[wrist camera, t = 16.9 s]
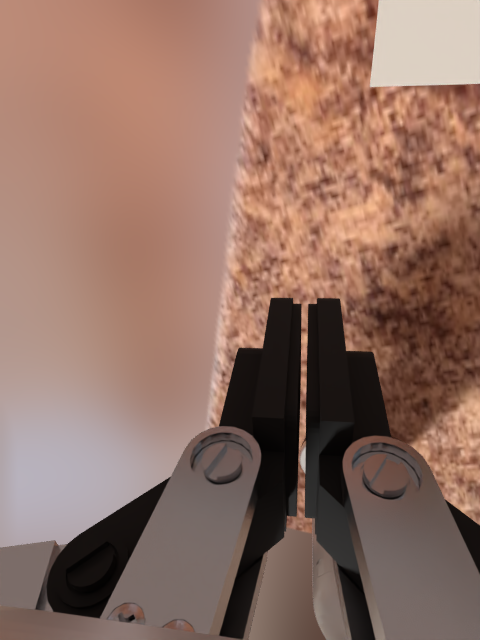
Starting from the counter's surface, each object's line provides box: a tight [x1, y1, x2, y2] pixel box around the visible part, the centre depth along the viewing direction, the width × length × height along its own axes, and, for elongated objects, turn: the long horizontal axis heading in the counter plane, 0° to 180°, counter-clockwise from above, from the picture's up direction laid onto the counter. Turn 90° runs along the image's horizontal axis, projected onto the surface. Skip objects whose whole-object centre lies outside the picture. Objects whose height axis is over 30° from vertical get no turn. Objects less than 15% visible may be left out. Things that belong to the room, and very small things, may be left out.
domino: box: [370, 0, 480, 87], centre depth 25 cm, size 2×5×10 cm
